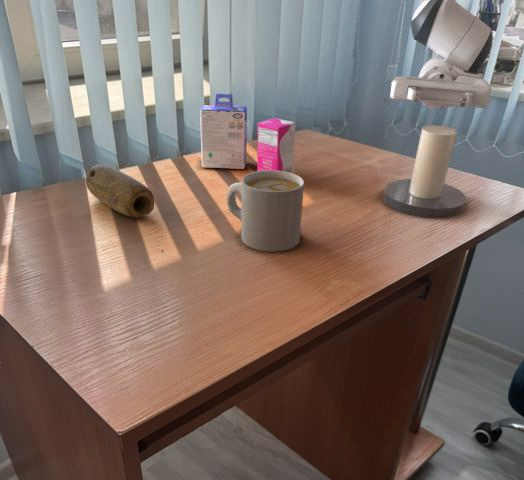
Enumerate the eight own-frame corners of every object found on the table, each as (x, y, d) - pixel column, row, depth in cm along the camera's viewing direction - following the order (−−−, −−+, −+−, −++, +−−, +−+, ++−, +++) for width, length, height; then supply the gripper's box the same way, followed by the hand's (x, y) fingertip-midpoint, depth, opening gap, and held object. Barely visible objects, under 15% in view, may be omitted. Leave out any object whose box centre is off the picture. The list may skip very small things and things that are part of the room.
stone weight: (81, 202, 98) (75, 166, 94) (112, 192, 103) (107, 158, 98) (131, 226, 91) (126, 188, 87) (162, 214, 95) (159, 178, 91)
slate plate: (437, 185, 113) (439, 176, 112) (480, 214, 101) (483, 205, 99) (370, 189, 109) (371, 181, 108) (405, 220, 97) (407, 211, 96)
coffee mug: (310, 238, 89) (316, 180, 83) (273, 257, 83) (277, 197, 77) (253, 215, 96) (254, 161, 90) (215, 232, 90) (213, 174, 84)
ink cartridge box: (246, 162, 120) (247, 93, 111) (245, 170, 116) (246, 99, 107) (204, 160, 120) (201, 91, 111) (201, 168, 116) (198, 97, 107)
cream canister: (431, 186, 107) (445, 124, 100) (447, 197, 102) (464, 134, 95) (403, 188, 105) (415, 125, 98) (418, 200, 101) (433, 135, 93)
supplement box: (272, 171, 116) (274, 116, 109) (293, 178, 113) (297, 122, 106) (255, 178, 112) (257, 121, 105) (277, 185, 109) (280, 127, 102)
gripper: (393, 66, 115) (391, 77, 104) (490, 74, 111) (497, 87, 101) (388, 97, 118) (385, 111, 108) (481, 106, 115) (487, 121, 104)
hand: (440, 99), depth 104 cm, fingers open, 8 cm apart
